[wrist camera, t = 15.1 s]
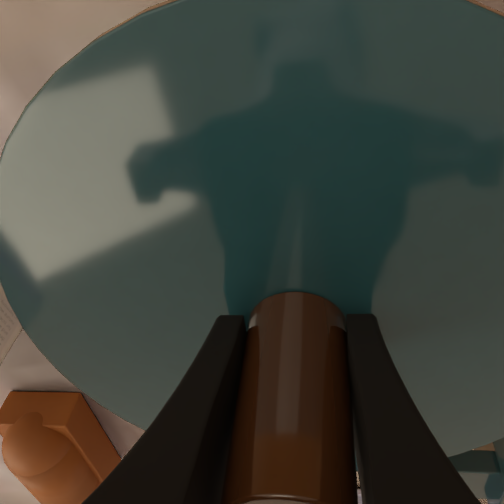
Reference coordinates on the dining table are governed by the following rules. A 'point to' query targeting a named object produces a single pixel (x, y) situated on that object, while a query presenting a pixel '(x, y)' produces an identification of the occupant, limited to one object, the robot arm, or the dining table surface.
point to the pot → (483, 471)
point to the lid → (270, 220)
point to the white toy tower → (7, 326)
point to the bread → (55, 445)
